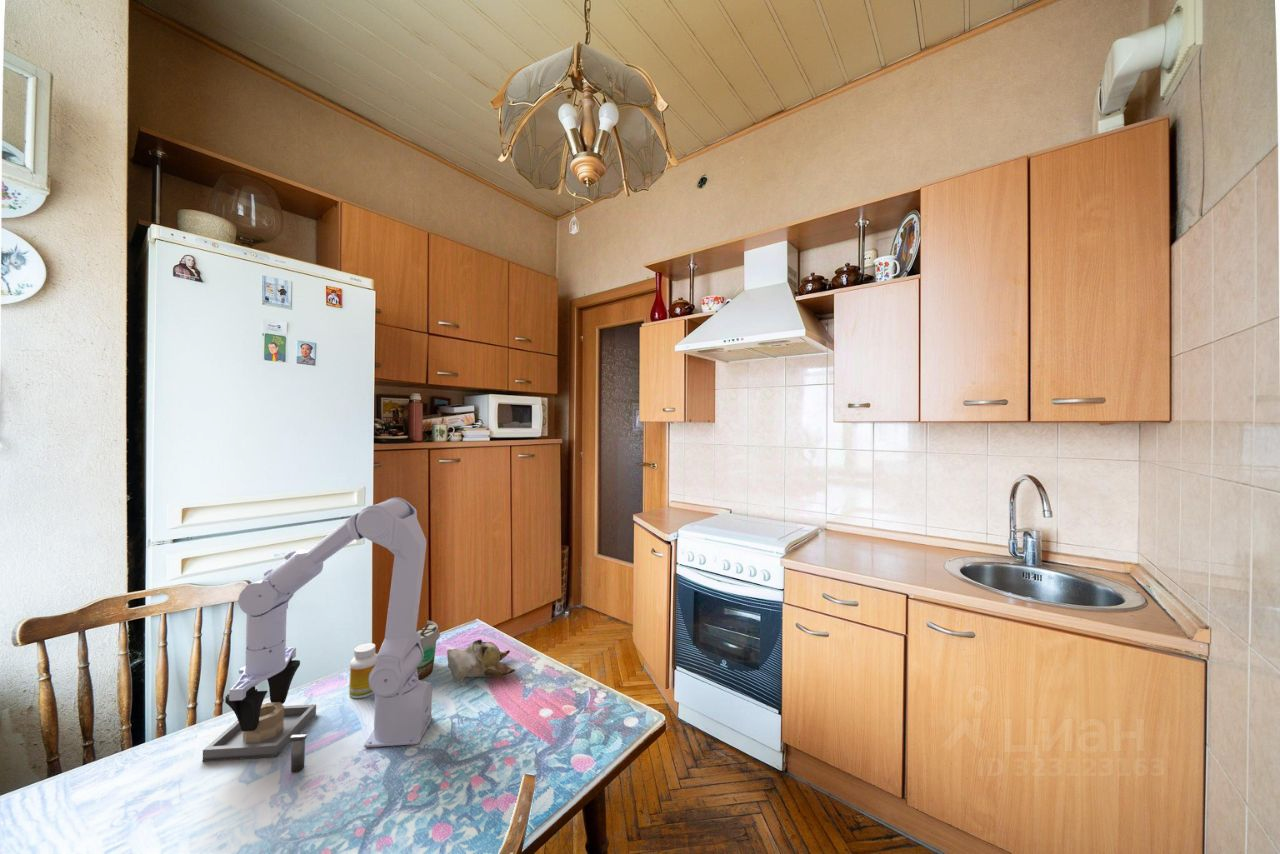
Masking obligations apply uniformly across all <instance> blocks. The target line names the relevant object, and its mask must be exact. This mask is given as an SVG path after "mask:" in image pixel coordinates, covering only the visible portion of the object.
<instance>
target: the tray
mask: <svg viewBox="0 0 1280 854" xmlns="http://www.w3.org/2000/svg"><path fill="white" fill-rule="evenodd" d="M283 706H284V728H283V729H282V730H281V731H280V732H279V733H278V734H277V735H276V736H275V737H272V738H270V739H268V740H265V741H263V742H260V743H247V744H246V742H245V741H244V739H243V731H242V730H241V727H240V724H239V721H238V719H237V720H236V721H235V722H234V723H232V724H231V725H230V726H229V727H228V728H226V730H224V731H223V732H222V733H221V734H220V735H218V736H217V737H216V738H215V739H214V740H213V741H212V742H211V743H208V745H207V746H205V748H203V749H202V762H217V761H234V760H250V759H251V760H253V759H265V758H267V759H268V758H277V757H278V756H279V755H280V754H281V753H282V752H283V751H284V750H285V749H286V748H287V747H288V745H290V743H292V741H290V737H291V736H292V735H299V734H300V732H302V731H303V729H304V728H305V727H306V726H307V725H308V724H309V723H310V722H311V721H312V719H314V717H315V716H316V715H317V704H316V703H315V704H301V705H299V704H298V705H297V704H295V705H283Z"/></svg>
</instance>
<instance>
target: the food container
mask: <svg viewBox="0 0 1280 854" xmlns="http://www.w3.org/2000/svg"><path fill="white" fill-rule="evenodd" d="M416 632H417V633H419V634H420V635H421V639H420V643H421V646H422V649H423V653H424V656H423V660H422V662H421V664H420V665H419V666H418V667H417V674H418V680H420V681H423V680H425V679H427V678H428V677H430V676H431V675H432V673H433V672H434V666H435V665H434V664H435V657H436V650H437V649H436V647H437V642H438V640H439V638H440V636H441V633H440V627H439V626H438V624H437V623H436V622H434V621H431V620H427V622H426V624H425V625H424V626H423V627H421V628H420V629H416Z"/></svg>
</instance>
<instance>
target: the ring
mask: <svg viewBox="0 0 1280 854" xmlns="http://www.w3.org/2000/svg"><path fill="white" fill-rule="evenodd" d="M284 706H285V705H284V704H282V703H281V702H273V703H271V702H266V703H262V706H261V710H260V717H259V723H258V726H257V728H256V729H255V730H254V731H243V739H244V741H245V742H246V744H247V743H260V742H263V741H265V740H268V739H270V738H272V737H275V736H276V735H277V734H278V733H279V732H280V731H281V730H282V729H283V728H284Z"/></svg>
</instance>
